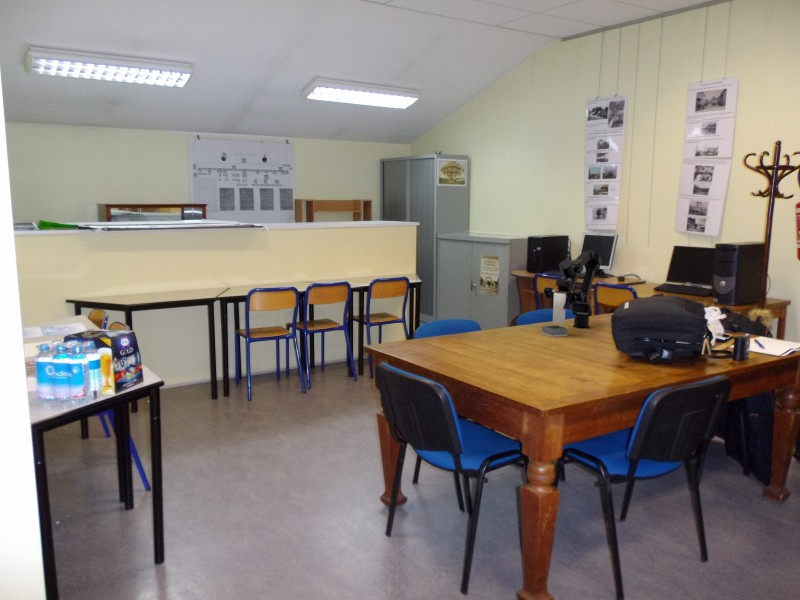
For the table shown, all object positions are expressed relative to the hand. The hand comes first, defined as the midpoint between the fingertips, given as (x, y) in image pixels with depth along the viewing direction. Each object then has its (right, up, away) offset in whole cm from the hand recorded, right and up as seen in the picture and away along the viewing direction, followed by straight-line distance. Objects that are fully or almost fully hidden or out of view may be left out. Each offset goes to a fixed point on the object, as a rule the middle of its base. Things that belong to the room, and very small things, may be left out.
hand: (558, 308), depth 312 cm
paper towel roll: (+1, -7, +2) cm, 7 cm away
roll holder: (-1, -13, +5) cm, 14 cm away
